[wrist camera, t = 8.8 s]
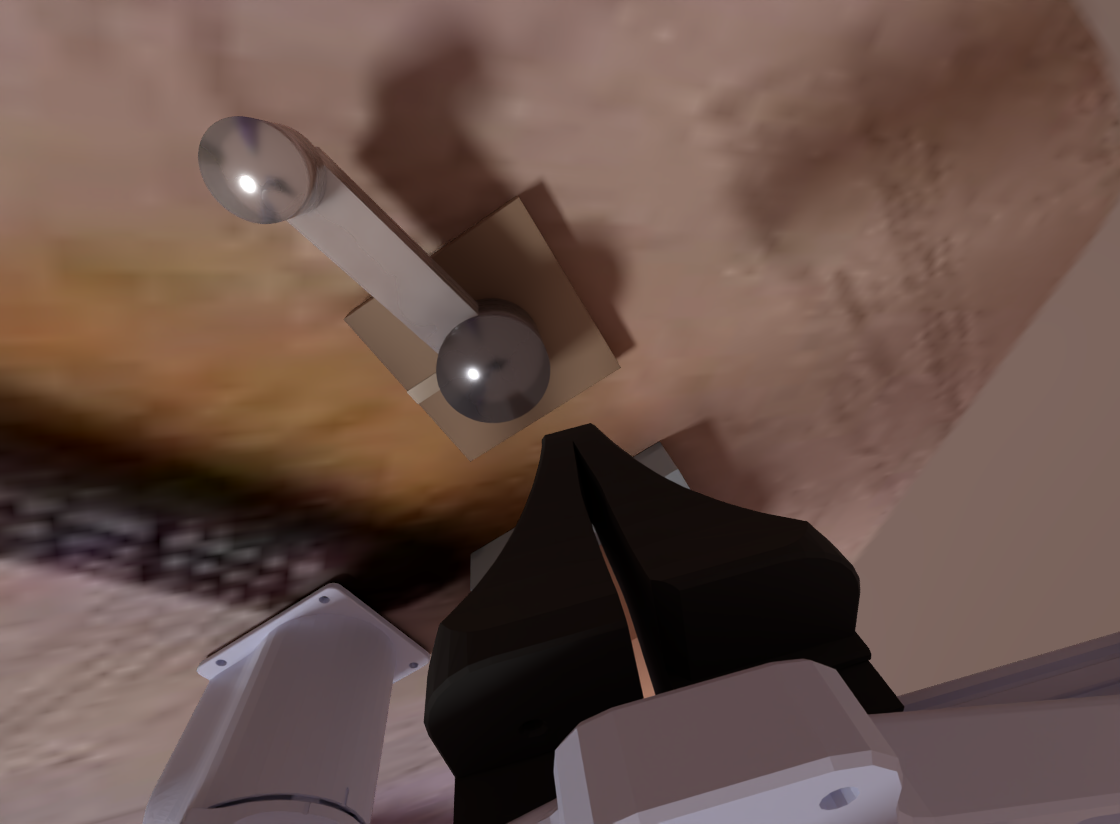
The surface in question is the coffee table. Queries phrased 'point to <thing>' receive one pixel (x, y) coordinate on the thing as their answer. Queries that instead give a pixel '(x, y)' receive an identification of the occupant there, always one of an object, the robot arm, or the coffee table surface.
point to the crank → (380, 264)
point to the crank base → (510, 274)
